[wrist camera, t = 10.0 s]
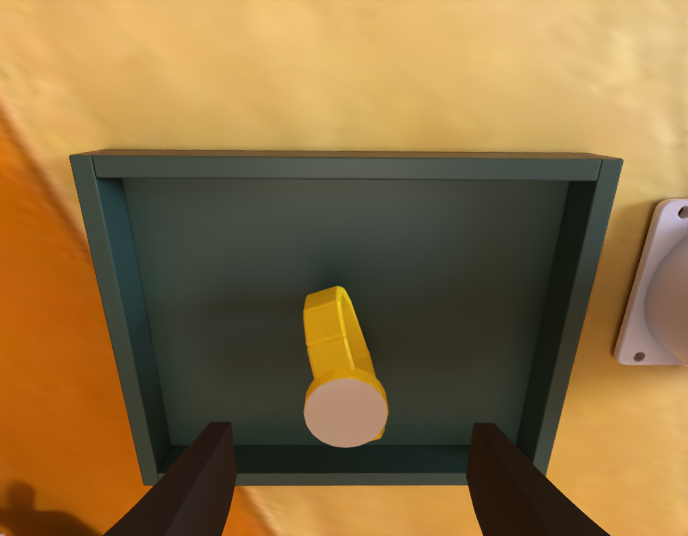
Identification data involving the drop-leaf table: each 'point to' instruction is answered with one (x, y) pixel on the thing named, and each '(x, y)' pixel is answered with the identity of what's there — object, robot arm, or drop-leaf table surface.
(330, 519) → the drop-leaf table surface
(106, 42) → the drop-leaf table surface
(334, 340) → the watch
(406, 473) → the tray
